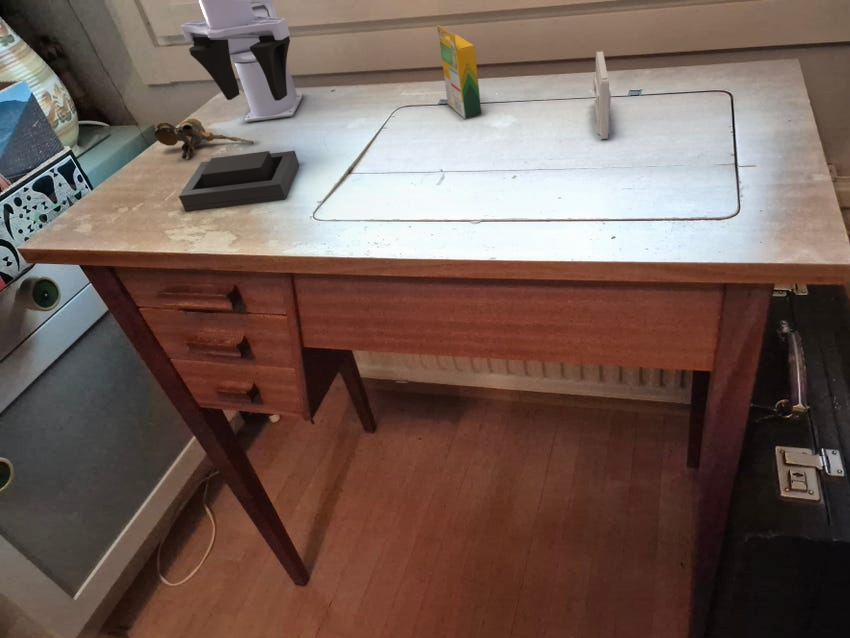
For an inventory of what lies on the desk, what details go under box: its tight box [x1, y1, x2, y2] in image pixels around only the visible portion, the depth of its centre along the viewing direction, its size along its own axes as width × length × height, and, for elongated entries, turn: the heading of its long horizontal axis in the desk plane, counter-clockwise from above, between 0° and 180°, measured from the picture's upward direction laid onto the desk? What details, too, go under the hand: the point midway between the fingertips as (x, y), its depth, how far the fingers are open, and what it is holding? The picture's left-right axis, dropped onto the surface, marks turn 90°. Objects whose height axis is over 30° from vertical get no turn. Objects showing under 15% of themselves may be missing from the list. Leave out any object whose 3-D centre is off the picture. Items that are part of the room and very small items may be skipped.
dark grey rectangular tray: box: [178, 150, 300, 212], centre depth 88 cm, size 10×13×2 cm
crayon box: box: [436, 24, 482, 120], centre depth 96 cm, size 7×3×12 cm, turn 23°
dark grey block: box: [201, 150, 276, 188], centre depth 87 cm, size 8×5×3 cm, turn 91°
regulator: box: [153, 118, 254, 160], centre depth 100 cm, size 8×4×15 cm
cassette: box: [593, 49, 612, 140], centre depth 88 cm, size 12×2×8 cm, turn 176°
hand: (257, 97), depth 87 cm, fingers open, 7 cm apart
